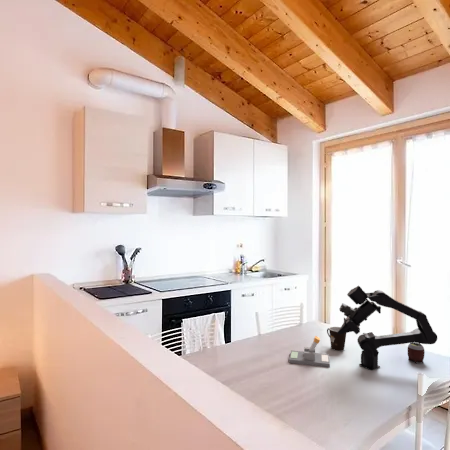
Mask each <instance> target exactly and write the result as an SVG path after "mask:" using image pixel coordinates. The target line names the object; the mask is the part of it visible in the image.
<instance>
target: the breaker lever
mask: <svg viewBox="0 0 450 450" xmlns="http://www.w3.org/2000/svg"><path fill="white" fill-rule="evenodd" d="M320 341H321V338H320V337H319V336H318V335H317V336H316V335H315V336H314V338H313V342H312V343H311V345H310V347H309V348H310V349H309V351H308V352H313V351H314V349H315V350H316V347H317V345H319V343H320Z"/></svg>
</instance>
